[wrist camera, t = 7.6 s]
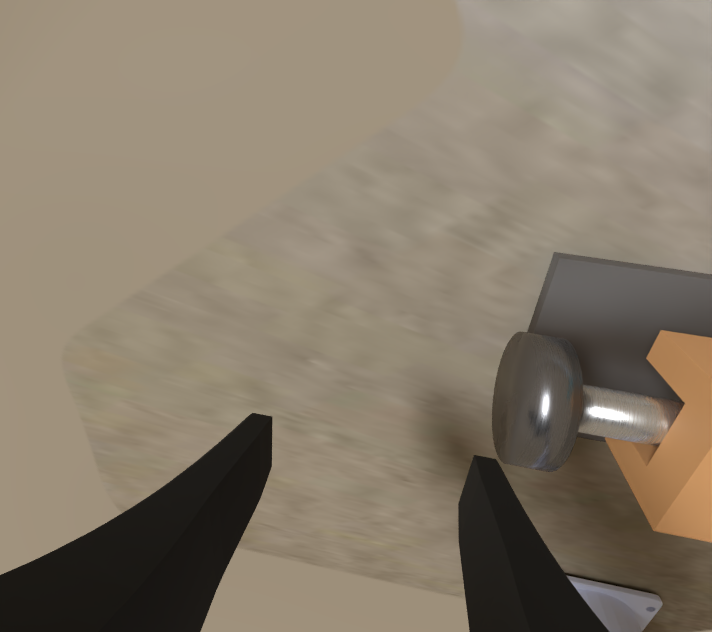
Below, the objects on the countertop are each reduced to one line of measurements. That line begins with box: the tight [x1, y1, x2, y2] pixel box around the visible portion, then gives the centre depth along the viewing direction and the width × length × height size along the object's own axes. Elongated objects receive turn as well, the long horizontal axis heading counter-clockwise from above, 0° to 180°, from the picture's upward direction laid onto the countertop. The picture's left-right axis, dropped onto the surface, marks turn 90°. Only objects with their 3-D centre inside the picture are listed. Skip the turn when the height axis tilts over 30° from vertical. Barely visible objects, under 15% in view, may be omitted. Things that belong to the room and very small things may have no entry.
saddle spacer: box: [605, 330, 712, 542], centre depth 15 cm, size 6×3×4 cm, turn 175°
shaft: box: [492, 332, 685, 472], centre depth 15 cm, size 5×12×5 cm, turn 84°
